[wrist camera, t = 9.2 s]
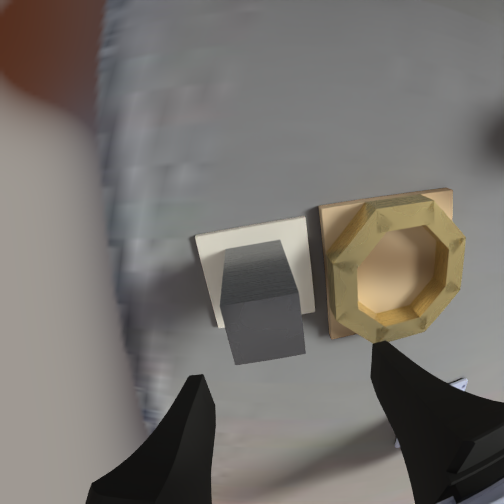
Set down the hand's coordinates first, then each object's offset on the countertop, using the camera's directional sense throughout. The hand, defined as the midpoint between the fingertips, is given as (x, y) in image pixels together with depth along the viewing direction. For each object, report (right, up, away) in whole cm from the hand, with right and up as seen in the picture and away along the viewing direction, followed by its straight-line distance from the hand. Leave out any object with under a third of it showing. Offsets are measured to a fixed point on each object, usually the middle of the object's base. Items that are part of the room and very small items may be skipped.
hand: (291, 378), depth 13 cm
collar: (+8, +4, +9) cm, 13 cm away
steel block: (-1, +4, +9) cm, 9 cm away
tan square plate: (+8, +4, +9) cm, 13 cm away
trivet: (-1, +4, +9) cm, 10 cm away
